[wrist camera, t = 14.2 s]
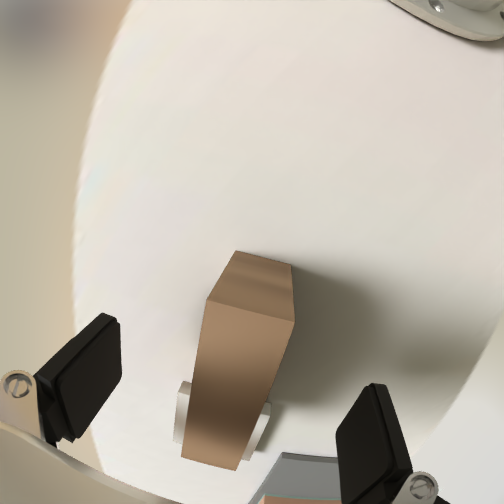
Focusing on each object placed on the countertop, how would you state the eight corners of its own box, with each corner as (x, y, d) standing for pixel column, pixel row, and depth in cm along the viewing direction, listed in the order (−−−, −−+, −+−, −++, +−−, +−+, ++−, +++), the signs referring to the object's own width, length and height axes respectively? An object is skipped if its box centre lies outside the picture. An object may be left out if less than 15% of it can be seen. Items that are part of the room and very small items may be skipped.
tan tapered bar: (206, 242, 12) (161, 286, 8) (319, 271, 12) (340, 331, 7) (176, 430, 16) (153, 488, 11) (250, 449, 16) (241, 510, 11)
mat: (281, 452, 16) (281, 457, 15) (385, 458, 15) (386, 463, 15) (236, 519, 20) (236, 523, 20) (309, 526, 20) (309, 529, 19)
